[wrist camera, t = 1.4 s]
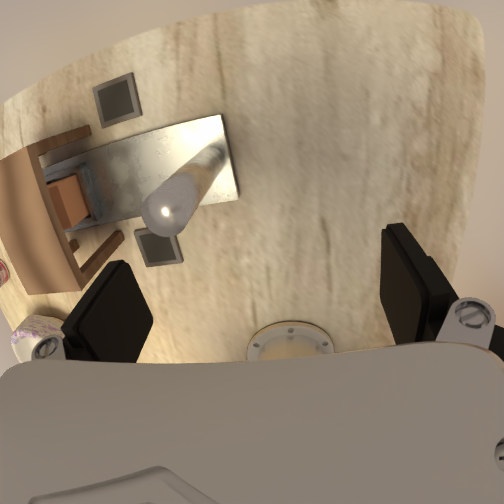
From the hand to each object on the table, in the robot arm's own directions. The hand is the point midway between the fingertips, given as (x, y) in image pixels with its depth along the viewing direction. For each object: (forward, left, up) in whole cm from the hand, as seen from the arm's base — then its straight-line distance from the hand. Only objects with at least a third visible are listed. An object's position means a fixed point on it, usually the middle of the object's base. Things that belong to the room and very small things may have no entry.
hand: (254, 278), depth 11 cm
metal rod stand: (+13, +9, -23) cm, 28 cm away
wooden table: (+22, +16, -23) cm, 36 cm away
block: (+20, +14, -22) cm, 33 cm away
